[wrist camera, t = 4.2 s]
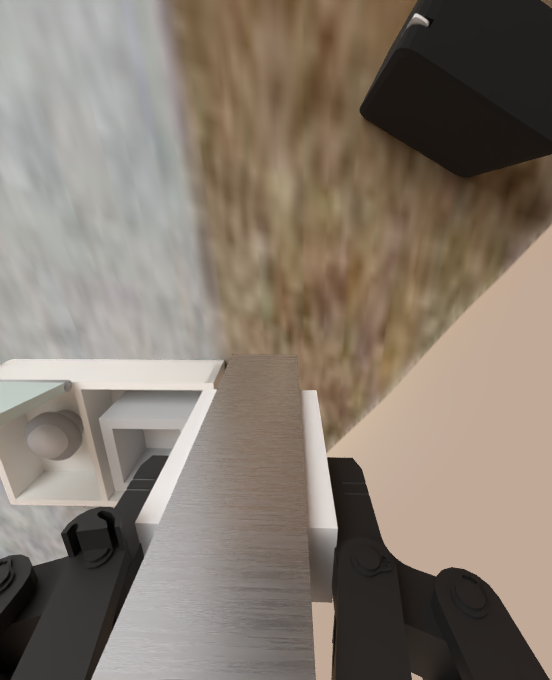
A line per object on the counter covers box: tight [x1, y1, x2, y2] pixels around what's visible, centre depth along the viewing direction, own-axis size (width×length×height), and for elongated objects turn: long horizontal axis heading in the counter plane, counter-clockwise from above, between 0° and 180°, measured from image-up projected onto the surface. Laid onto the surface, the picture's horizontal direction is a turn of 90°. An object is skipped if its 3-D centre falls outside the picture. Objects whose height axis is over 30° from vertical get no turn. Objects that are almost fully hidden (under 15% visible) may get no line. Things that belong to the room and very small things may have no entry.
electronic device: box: [360, 0, 552, 177], centre depth 20 cm, size 4×10×10 cm, turn 63°
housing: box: [0, 359, 225, 507], centre depth 32 cm, size 14×22×6 cm, turn 91°
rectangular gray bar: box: [91, 354, 316, 680], centre depth 10 cm, size 3×3×16 cm
